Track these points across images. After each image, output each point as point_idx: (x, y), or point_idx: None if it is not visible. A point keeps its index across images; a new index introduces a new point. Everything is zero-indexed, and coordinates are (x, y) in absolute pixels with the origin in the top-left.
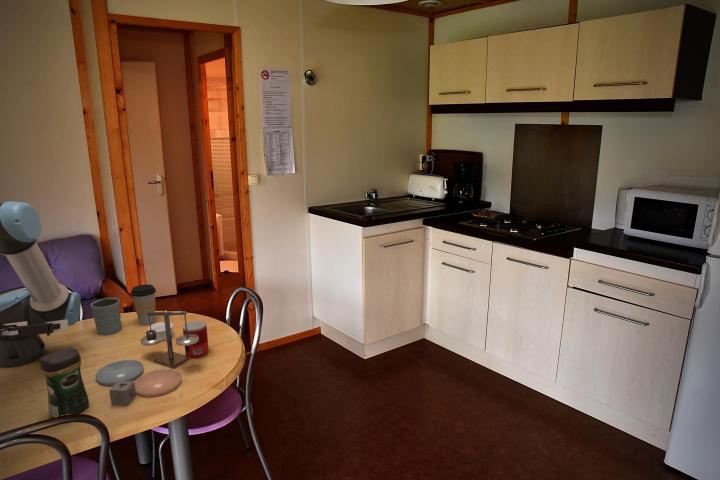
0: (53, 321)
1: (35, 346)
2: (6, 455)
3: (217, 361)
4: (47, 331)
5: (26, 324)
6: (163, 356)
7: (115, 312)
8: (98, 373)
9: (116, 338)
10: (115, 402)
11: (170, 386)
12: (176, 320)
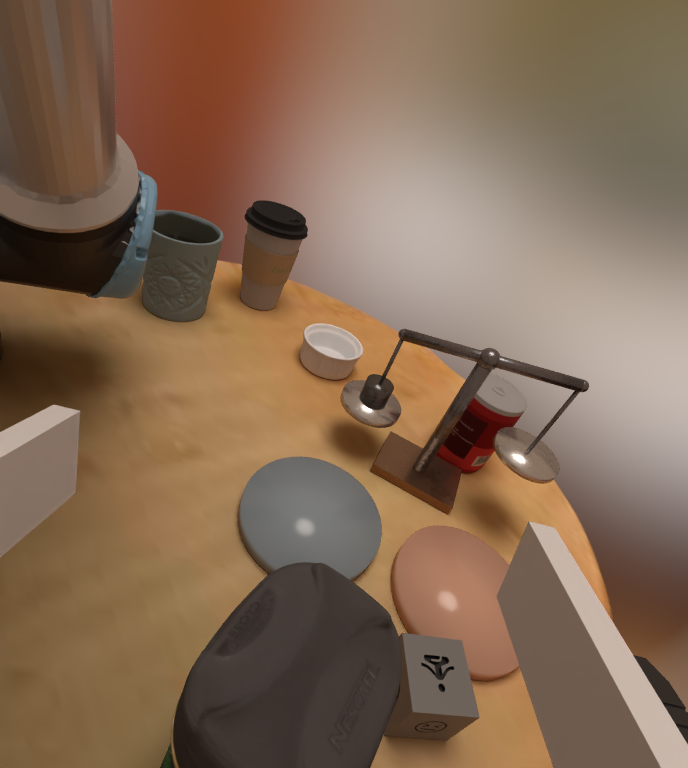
0: (599, 642)
1: None
2: None
3: (527, 497)
4: None
5: (73, 441)
6: (395, 456)
7: (211, 266)
8: (249, 519)
9: (208, 341)
10: (406, 732)
11: None
12: (323, 313)
